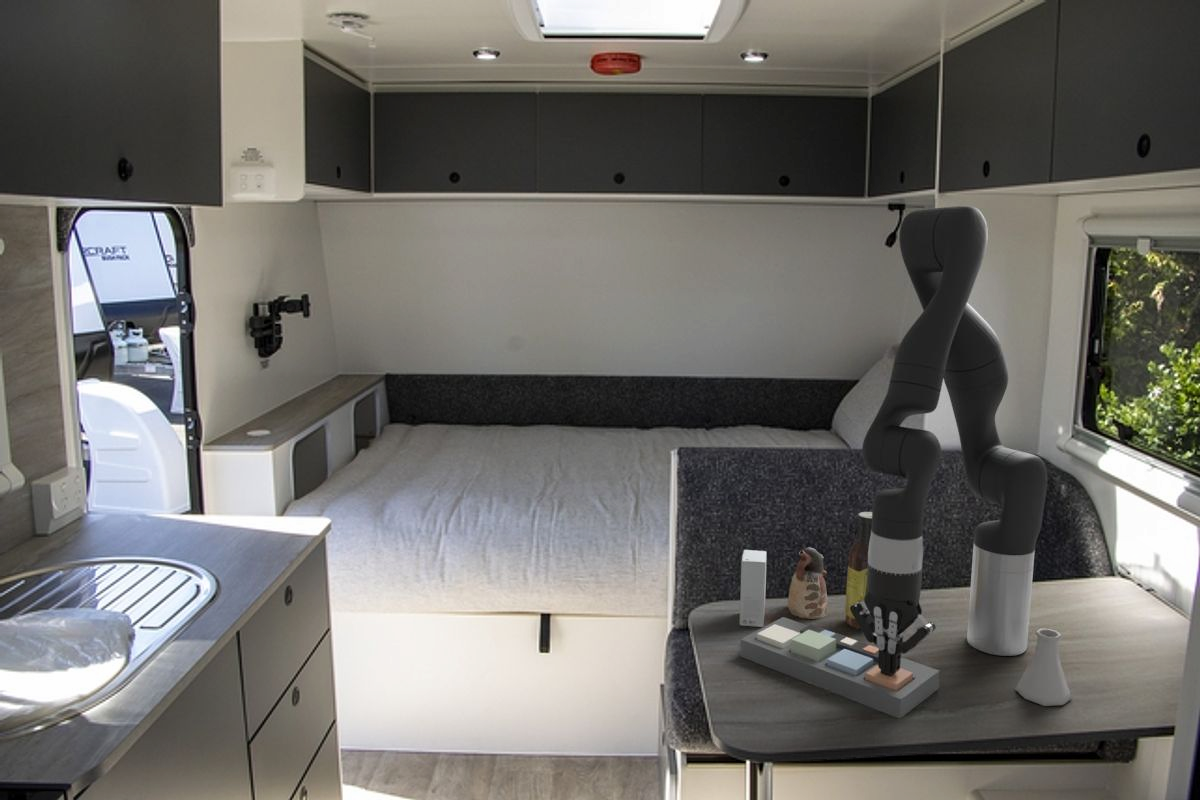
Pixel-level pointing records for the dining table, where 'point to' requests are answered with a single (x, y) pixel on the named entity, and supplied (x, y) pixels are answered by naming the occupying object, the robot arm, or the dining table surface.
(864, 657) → the key blue
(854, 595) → the sauce bottle
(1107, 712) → the dining table surface
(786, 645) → the key cream
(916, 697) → the keypad board
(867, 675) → the block
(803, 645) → the key sage
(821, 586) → the figurine
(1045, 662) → the flask
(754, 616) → the skincare box
